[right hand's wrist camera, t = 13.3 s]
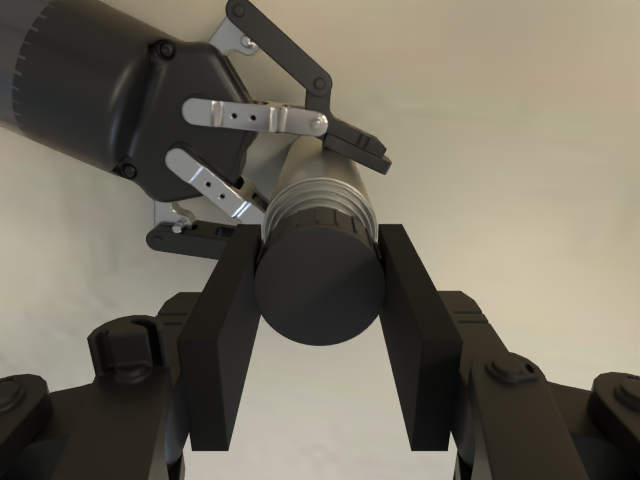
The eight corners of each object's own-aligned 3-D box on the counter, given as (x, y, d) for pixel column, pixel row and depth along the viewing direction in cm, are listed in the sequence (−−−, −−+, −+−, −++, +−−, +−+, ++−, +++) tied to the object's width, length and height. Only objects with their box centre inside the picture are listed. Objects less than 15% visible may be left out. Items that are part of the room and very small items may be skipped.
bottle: (277, 141, 29) (222, 235, 13) (342, 120, 29) (373, 191, 12) (298, 203, 31) (273, 360, 14) (360, 185, 30) (409, 325, 14)
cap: (302, 334, 16) (300, 368, 14) (235, 246, 14) (223, 271, 13) (401, 280, 15) (412, 309, 13) (339, 182, 13) (342, 199, 12)
